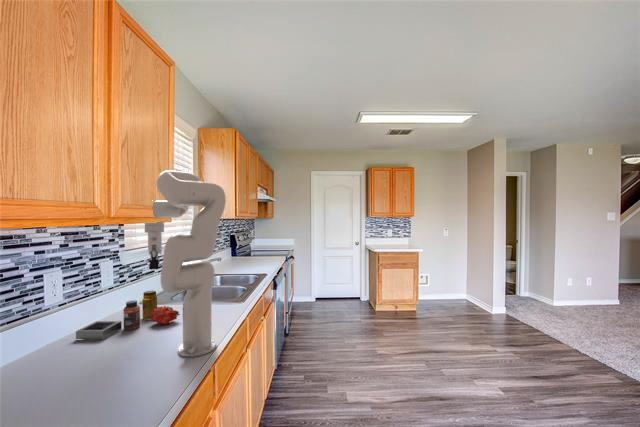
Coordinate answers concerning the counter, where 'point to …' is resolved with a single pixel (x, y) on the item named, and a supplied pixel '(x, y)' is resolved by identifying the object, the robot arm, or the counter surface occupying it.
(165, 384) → the counter surface
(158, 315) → the dragon fruit
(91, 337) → the square tray frame
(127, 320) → the supplement bottle
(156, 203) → the robot arm
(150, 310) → the condiment
